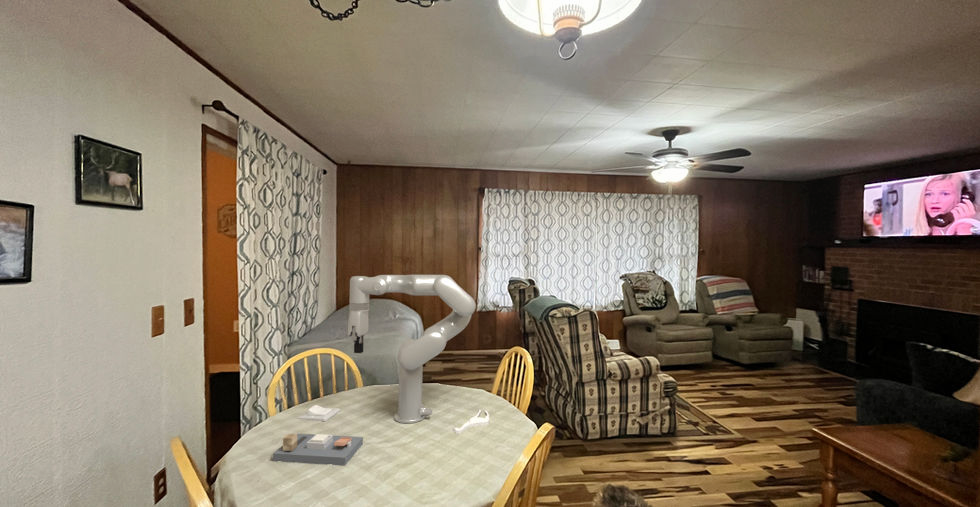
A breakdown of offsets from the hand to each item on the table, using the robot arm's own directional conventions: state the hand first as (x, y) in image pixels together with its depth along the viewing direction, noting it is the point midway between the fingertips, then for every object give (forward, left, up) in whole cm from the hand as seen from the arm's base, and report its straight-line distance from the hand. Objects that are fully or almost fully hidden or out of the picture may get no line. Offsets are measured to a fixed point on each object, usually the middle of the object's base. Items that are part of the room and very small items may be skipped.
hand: (358, 352), depth 158 cm
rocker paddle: (-6, +26, -24) cm, 36 cm away
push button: (+2, +26, -24) cm, 36 cm away
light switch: (+18, -3, -28) cm, 33 cm away
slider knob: (+10, +30, -24) cm, 40 cm away
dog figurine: (-46, -3, -28) cm, 54 cm away
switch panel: (+2, +26, -27) cm, 38 cm away
